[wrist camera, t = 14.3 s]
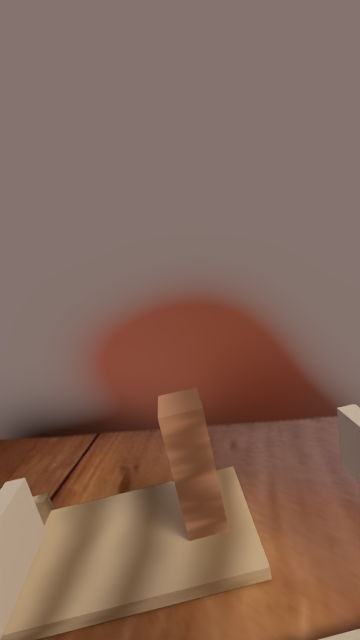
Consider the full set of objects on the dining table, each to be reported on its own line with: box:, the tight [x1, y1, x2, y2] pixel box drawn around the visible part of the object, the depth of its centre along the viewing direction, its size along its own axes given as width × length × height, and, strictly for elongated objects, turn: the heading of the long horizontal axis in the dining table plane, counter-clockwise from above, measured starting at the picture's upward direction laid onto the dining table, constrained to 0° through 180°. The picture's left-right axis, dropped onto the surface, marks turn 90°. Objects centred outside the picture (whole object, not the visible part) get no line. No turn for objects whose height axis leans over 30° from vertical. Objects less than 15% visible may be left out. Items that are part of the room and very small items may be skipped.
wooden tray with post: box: [0, 388, 272, 640], centre depth 23 cm, size 32×11×13 cm, turn 94°
